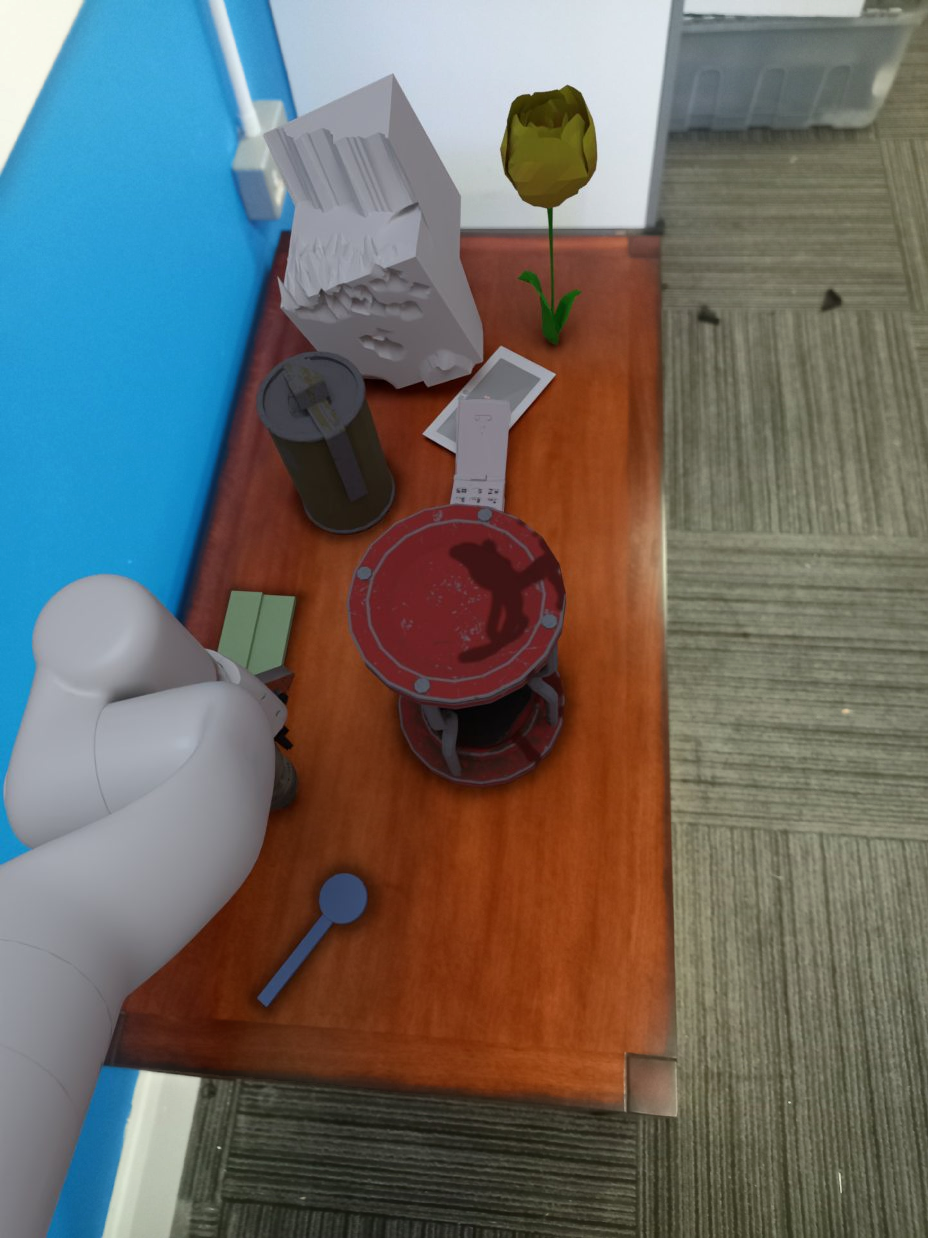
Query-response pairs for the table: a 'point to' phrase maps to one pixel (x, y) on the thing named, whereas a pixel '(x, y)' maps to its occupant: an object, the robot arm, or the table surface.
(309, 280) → the grey carved stone block
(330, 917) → the spoon
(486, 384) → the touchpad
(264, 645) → the towel
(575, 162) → the flower
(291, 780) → the grey spiral shell
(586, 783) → the table surface
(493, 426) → the mobile phone
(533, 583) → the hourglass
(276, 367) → the canister
